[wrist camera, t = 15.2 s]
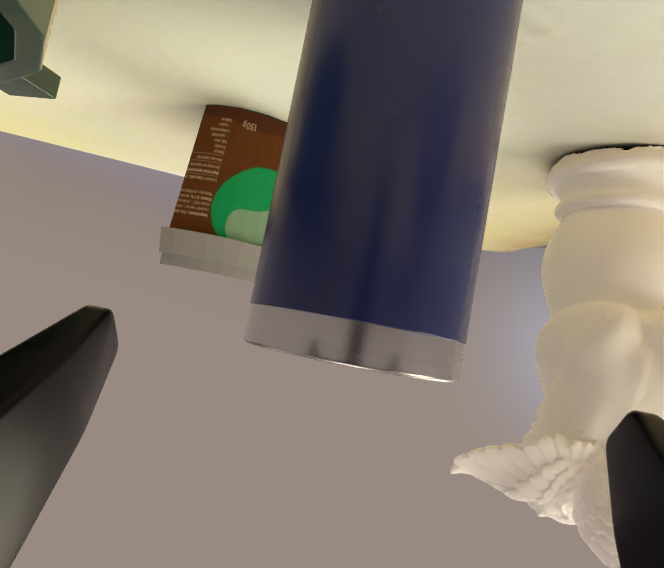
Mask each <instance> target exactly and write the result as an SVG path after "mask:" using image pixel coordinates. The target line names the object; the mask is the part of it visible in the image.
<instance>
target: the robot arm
mask: <svg viewBox="0 0 664 568" xmlns="http://www.w3.org/2000/svg"><path fill="white" fill-rule="evenodd" d="M117 349H118V338H117V332H116V326H115V320H114V315H113V313H112V311H111V310H110V309H108V308H102V307H97V306H92V305H87V306H84V307H82V308H80V309H79V310H77V311H75V312H73V313H72V314H70V315H68V316H67V317H65V318H63V319H61V320H60V321H58V322H56V323H54V324H53V325H51V326H49V327H48V328H46V329H44V330H42V331H41V332H39V333H37V334H35V335H34V336H32V337H30V338H28V339H27V340H25V341H23V342H22V343H20V344H18V345H16V346H15V347H13V348H11V349H9V350H8V351H6V352H4V353H3V354H1V355H0V568H10V567H11V565H12V563H13V561H14V559H15V558H16V556H17V554H18V552H19V550H20V549H21V547H22V545H23V543H24V541H25V539H26V538H27V536H28V534H29V532H30V530H31V529H32V527H33V525H34V523H35V521H36V520H37V518H38V516H39V514H40V512H41V510H42V509H43V507H44V505H45V503H46V501H47V499H48V498H49V496H50V494H51V492H52V490H53V489H54V487H55V485H56V483H57V481H58V479H59V477H60V476H61V474H62V472H63V470H64V469H65V467H66V465H67V463H68V461H69V459H70V458H71V456H72V454H73V452H74V450H75V448H76V447H77V445H78V443H79V441H80V439H81V437H82V435H83V433H84V431H85V429H86V427H87V424H88V422H89V420H90V417H91V415H92V412H93V410H94V407H95V405H96V403H97V400H98V398H99V395H100V393H101V390H102V388H103V386H104V383H105V381H106V378H107V376H108V373H109V371H110V368H111V366H112V364H113V361H114V358H115V356H116V353H117ZM606 459H607V470H608V481H609V491H610V502H611V513H612V523H613V530H614V537H615V543H616V548H617V553H618V558H619V563H620V568H664V420H663V419H662V418H661V417H659V416H658V415H656V414H652V413H647V412H642V411H637V410H633V411H631V412H629V413H628V414H627V415H626V416H625V417H624V418H623V419H622V421H621V422H620V423H619V424H618V426H617V427H616V428H615V429H614V430H613V432H612V433H611V434H610V436H609V437H608V439H607V443H606Z"/></svg>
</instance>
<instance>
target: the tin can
mask: <svg viewBox="0 0 664 568" xmlns="http://www.w3.org/2000/svg"><path fill="white" fill-rule="evenodd" d="M522 3H523V0H312V5H311V10H310V15H309V20H308V25H307V30H306V34H305V39H304V44H303V49H302V54H301V59H300V64H299V68H298V73H297V78H296V83H295V88H294V93H293V98H292V102H291V107H290V112H289V117H288V122H287V127H286V132H285V136H284V141H283V146H282V151H281V156H280V161H279V166H278V170H277V175H276V180H275V185H274V190H273V195H272V200H271V204H270V209H269V214H268V219H267V224H266V229H265V234H264V238H263V243H262V248H261V253H260V258H259V263H258V268H257V272H256V277H255V282H254V287H253V292H252V297H251V302H250V303H251V307H250V312H249V317H248V321H247V326H246V331H245V336H244V340H245V341H246V342H247V343H250V344H253V345H256V346H259V347H263V348H267V349H270V350H275V351H279V352H283V353H287V354H292V355H296V356H301V357H305V358H310V359H314V360H319V361H324V362H329V363H334V364H339V365H344V366H349V367H354V368H359V369H364V370H370V371H375V372H381V373H386V374H392V375H398V376H404V377H410V378H416V379H423V380H430V381H437V382H445V383H455V382H457V381H458V380H459V374H460V368H461V362H462V356H463V350H464V344H465V343H466V339H467V333H468V327H469V321H470V315H471V309H472V303H473V296H474V290H475V285H476V279H477V273H478V266H479V261H480V255H481V249H482V243H483V237H484V231H485V225H486V219H487V213H488V207H489V201H490V195H491V189H492V183H493V177H494V171H495V165H496V159H497V153H498V147H499V141H500V135H501V129H502V123H503V117H504V111H505V105H506V99H507V93H508V87H509V81H510V75H511V69H512V63H513V57H514V51H515V45H516V39H517V33H518V27H519V21H520V15H521V9H522Z"/></svg>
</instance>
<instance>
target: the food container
mask: <svg viewBox="0 0 664 568" xmlns="http://www.w3.org/2000/svg"><path fill="white" fill-rule="evenodd" d="M286 127H287V123H284V122H282V121H280V120H277V119H275V118H272V117H269V116H266V115H263V114H259V113H256V112H252V111H248V110H244V109H239V108H233V107H226V106H216V105H206V108H205V111H204V114H203V118H202V121H201V124H200V128H199V131H198V134H197V138H196V141H195V144H194V148H193V151H192V154H191V158H190V161H189V164H188V167H187V171H186V174H185V177H184V181H183V184H182V187H181V191H180V194H179V197H178V201H177V204H176V207H175V211H174V214H173V217H172V221H171V224H170V227H161V236H160V247H159V251H160V252H162V254H161V259H160V263H161V264H167V265H173V266H178V267H183V268H188V269H194V270H199V271H204V272H209V273H214V274H219V275H223V276H228V277H233V278H237V279H242V280H246V281H251V282H255V277H256V272H257V268H258V263H259V258H260V253H261V248H262V243H263V238H264V234H265V229H266V224H267V219H268V214H269V209H270V204H271V200H272V195H273V190H274V185H275V180H276V175H277V170H278V166H279V161H280V156H281V151H282V146H283V141H284V136H285V132H286Z"/></svg>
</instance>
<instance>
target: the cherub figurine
mask: <svg viewBox="0 0 664 568" xmlns="http://www.w3.org/2000/svg"><path fill="white" fill-rule="evenodd" d="M621 149H623V148H616V147H615V148H608V149H605V148H603V149H598V150H597V149H594V150H590V151H587V152H584V153H582V154H581V153H579V154H574V153H573V154H570V155H566V156H564V157H563V158H562V159H561V160H559V161H558V162H557V163H556V164H554V165H553V166H552V167H551V171H550V172H549V173H548V175H547V177H546V181H545V183H546V188H547V190H548V192H549V193H550V194H551V195H552V196H553V197H555V198H556V199H558V200H560V201H561V202H560V203H559V204H558V205H557V206H556V208H555V216H556V218H557V220H558V221H560V222H561V223H560V224H559V225H558V227H557V228H556V230H555V232H554V233H553V235H552V237H551V239H550V241H549V243H548V245H547V247H546V250H545V253H544V257H543V262H542V272H541V273H542V284H543V289H544V294H545V298H546V301H547V305H548V307H549V310H550V312H551V314H552V317H551V318H550V319H549V320H548V321H547V322H546V324H545V325H544V326H543V328H542V329H541V331H540V333H539V335H538V338H537V341H536V345H535V366H536V370H537V373H538V377H539V382H540V386H541V389H542V391H543V393H544V395H545V399H544V400H543V401H542V402H541V404H540V406H539V408H538V411H537V418H536V422H533V423H532V424H531V427H530V428H531V430H530V431H528V432H527V434H526V435H525V436H524V438H523V439H524V442H523V443H522V444H521V445H519V444H517V443H515V442H509V443H506V444H503V445H502V446H496V445H489V446H486V447H485V448H477V449H474V450H471V451H470V452H469V453H465V454H461V455H459V456H457V457H456V458H455V459H454V465H453V467H452V468H451V470H450V473H451V474H456V473H465V474H471V475H472V476H473V477H475V478H477V479H479V480H482V481H485V482H487V484H489V485H490V486H492V487H494V488H496V489H498V490H499V491H501V492H503V494H505V495H506V496H508V497H509V498H511V499H514V500H518V501H526V502H527V504H528V505H529V506H530V507H531V508H533V509H534V510H536V512H537V515H538V516H540V517H545V516H548V517H551V518H553V519H555V520H556V521H558V522H559V523H565V524H570V525H574V524H577V528H578V530H579V533H580V535H581V538H582V539H583V540H584V541H585V542H586V543H587V544H588V546H589V548H590V549H591V550H592V551H593V553H594V554H596V556H598V558H599V559H600V561H601V562H602V563H603V564H605V565H606V566H609V567H610V568H620V563H619V558H618V553H617V548H616V543H615V537H614V530H613V523H612V513H611V502H610V491H609V481H608V470H607V459H606V443H607V439H608V437H609V436H610V434H611V433H612V432H613V430H614V429H615V428H616V427H617V426H618V424H619V423H620V422H621V421H622V419H623V418H624V417H625V416H626V415H627V414H628V413H629V412H631V411H633V410H637V411H642V412H647V413H652V414H656V415H658V416H659V417H661V418H662V419H663V420H664V147H663V146H658V147H652V146H648V147H636V148H634V147H633V149H632V150H631V148H630V150H621Z"/></svg>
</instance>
